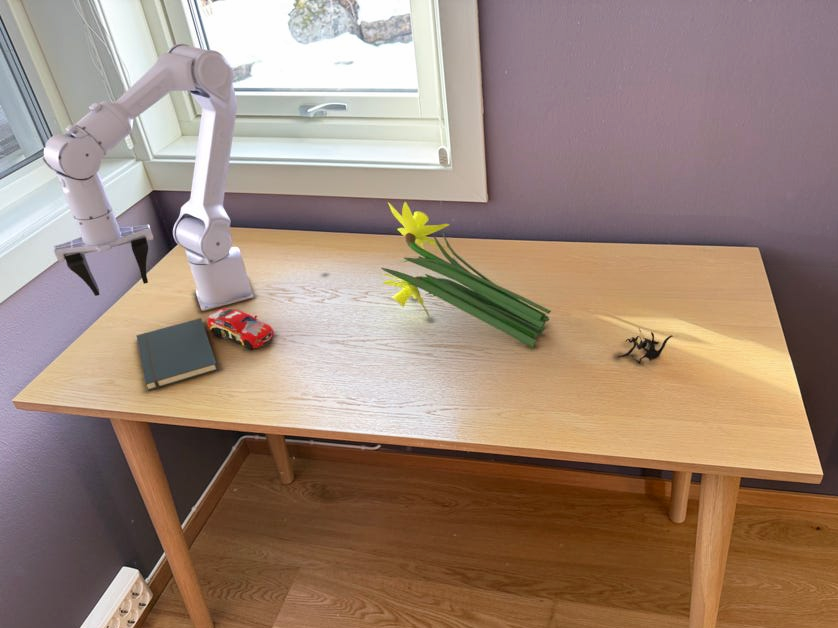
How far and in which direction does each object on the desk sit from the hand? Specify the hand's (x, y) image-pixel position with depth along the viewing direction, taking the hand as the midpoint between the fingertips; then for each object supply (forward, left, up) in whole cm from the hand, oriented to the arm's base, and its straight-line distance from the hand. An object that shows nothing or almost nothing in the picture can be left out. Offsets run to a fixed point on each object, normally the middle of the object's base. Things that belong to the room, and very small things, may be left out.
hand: (121, 286), depth 127 cm
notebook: (-5, +9, -10) cm, 15 cm away
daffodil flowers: (-53, +22, -11) cm, 58 cm away
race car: (-16, +9, -11) cm, 21 cm away
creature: (-72, +47, -11) cm, 87 cm away
